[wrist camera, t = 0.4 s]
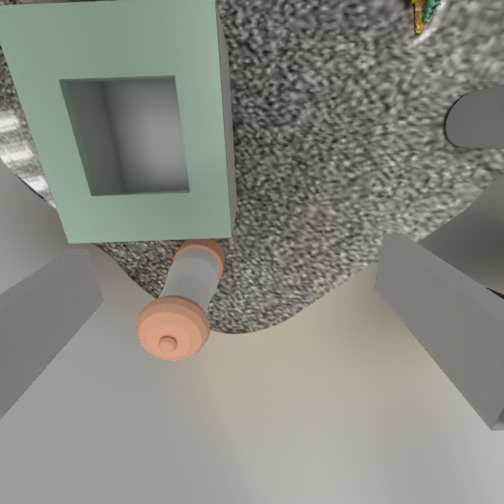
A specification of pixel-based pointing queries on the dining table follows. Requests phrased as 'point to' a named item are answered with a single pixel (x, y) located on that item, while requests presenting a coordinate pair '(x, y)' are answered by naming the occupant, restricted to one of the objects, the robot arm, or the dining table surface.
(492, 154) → the dining table surface
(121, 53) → the caddy
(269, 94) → the dining table surface
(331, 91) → the dining table surface
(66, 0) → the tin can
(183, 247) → the pepper shaker
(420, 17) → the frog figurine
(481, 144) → the beverage can
